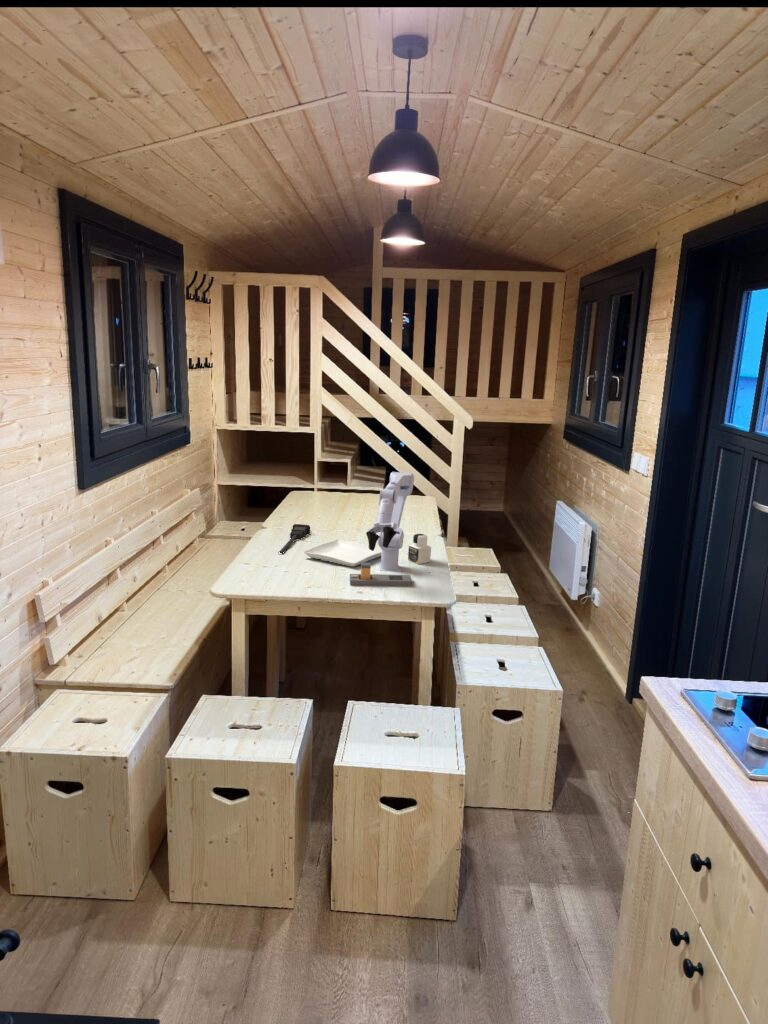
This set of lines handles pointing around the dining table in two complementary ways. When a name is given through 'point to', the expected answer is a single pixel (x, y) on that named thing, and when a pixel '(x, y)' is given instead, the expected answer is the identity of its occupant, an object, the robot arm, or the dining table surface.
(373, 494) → the dining table surface
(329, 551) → the square plate
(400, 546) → the robot arm
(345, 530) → the dining table surface
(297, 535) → the electrical plug
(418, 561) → the medicine bottle
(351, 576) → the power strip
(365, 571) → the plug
